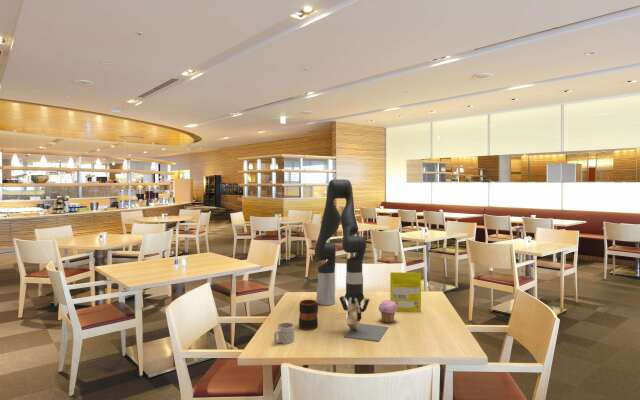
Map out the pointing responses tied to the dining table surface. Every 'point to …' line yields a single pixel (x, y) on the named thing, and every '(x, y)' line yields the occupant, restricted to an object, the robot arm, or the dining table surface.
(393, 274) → the food package
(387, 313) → the cupcake
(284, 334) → the mug
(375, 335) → the mat
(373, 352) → the dining table surface
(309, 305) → the mug
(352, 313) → the wooden block
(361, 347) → the dining table surface
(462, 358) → the dining table surface
